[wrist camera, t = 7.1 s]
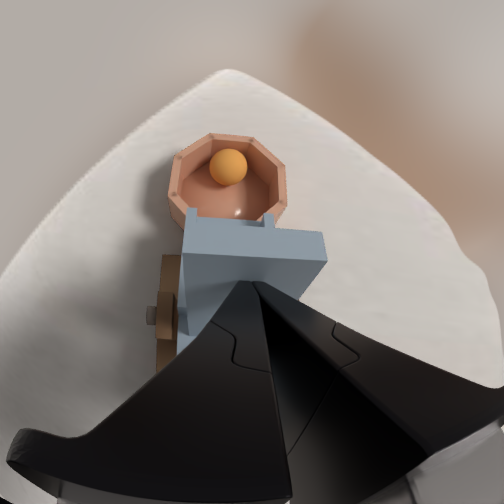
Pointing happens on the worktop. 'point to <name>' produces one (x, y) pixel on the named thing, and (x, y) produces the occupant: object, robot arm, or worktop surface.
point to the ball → (228, 167)
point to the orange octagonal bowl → (221, 196)
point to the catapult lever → (239, 264)
